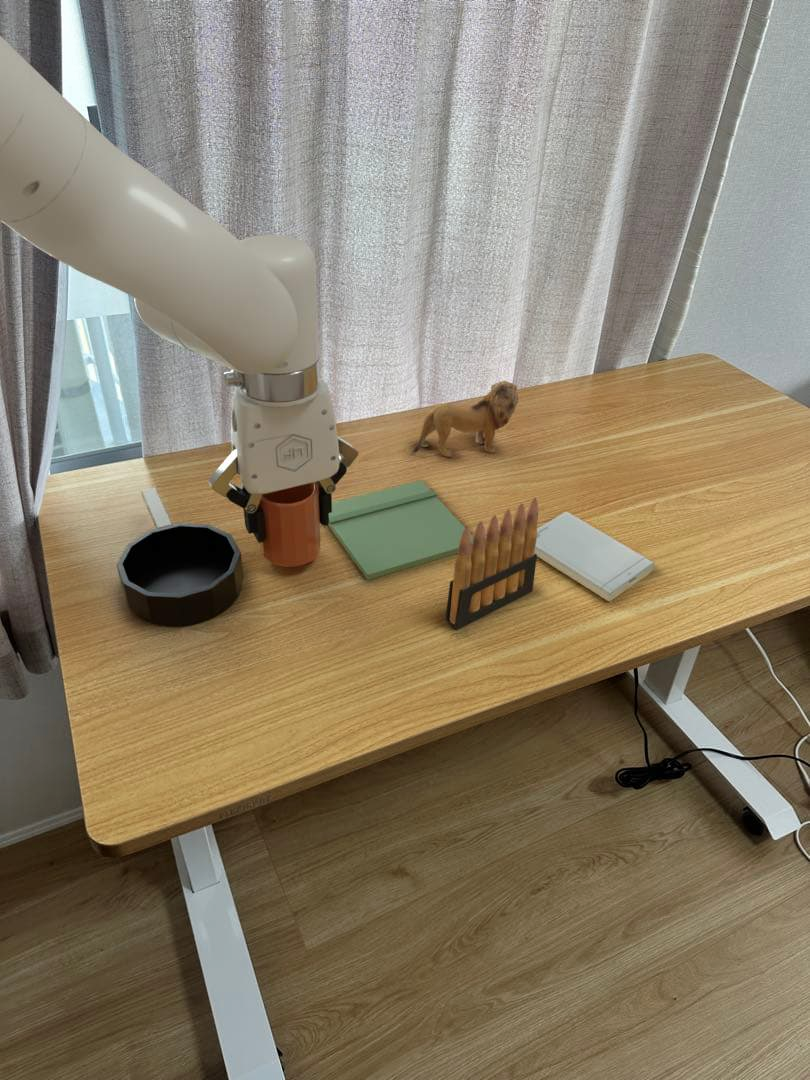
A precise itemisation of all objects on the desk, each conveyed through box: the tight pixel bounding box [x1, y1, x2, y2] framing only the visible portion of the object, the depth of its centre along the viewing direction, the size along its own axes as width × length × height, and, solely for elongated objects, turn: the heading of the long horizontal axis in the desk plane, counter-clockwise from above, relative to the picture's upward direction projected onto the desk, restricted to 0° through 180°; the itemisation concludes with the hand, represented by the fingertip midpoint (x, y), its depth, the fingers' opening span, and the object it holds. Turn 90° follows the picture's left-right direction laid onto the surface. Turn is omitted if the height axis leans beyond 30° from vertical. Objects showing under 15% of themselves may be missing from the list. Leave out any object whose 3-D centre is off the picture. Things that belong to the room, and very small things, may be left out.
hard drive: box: [534, 511, 656, 602], centre depth 91 cm, size 2×8×12 cm
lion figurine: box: [411, 380, 519, 458], centre depth 107 cm, size 15×5×9 cm, turn 110°
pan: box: [116, 486, 245, 628], centre depth 87 cm, size 12×20×4 cm, turn 27°
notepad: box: [327, 479, 474, 581], centre depth 94 cm, size 14×14×1 cm
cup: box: [259, 482, 322, 568], centre depth 86 cm, size 6×6×8 cm
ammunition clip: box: [444, 497, 539, 630], centre depth 81 cm, size 11×2×12 cm, turn 127°
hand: (289, 525), depth 87 cm, fingers closed on cup, 6 cm apart
